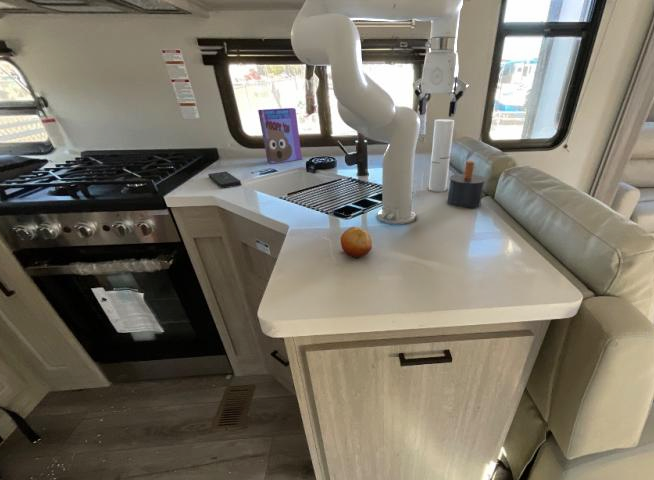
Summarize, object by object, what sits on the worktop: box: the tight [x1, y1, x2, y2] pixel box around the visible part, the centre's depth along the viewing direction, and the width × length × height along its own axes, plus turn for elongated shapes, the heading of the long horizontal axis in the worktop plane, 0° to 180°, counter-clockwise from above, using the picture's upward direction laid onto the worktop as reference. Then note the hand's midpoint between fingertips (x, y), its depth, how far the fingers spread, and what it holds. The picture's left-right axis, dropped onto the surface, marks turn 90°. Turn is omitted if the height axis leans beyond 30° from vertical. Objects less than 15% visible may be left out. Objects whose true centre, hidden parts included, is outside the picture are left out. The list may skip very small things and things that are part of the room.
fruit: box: [340, 226, 373, 259], centre depth 83 cm, size 8×8×8 cm
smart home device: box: [207, 171, 242, 189], centre depth 139 cm, size 8×2×20 cm
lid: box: [449, 160, 487, 185], centre depth 113 cm, size 13×13×7 cm
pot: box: [447, 179, 485, 210], centre depth 117 cm, size 12×12×8 cm
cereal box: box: [257, 107, 303, 165], centre depth 166 cm, size 17×5×24 cm, turn 130°
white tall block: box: [428, 118, 455, 193], centre depth 126 cm, size 7×7×25 cm
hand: (436, 115), depth 102 cm, fingers open, 9 cm apart
